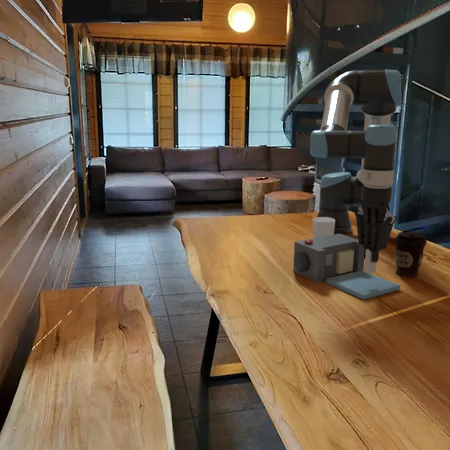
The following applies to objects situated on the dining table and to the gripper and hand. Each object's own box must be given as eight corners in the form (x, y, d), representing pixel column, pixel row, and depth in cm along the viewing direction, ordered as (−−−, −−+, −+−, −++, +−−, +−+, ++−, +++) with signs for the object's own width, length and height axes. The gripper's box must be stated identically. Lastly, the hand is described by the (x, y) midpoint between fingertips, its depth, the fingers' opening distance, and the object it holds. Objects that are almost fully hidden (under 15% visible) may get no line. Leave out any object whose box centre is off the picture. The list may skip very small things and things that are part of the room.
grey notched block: (337, 263, 149) (339, 231, 146) (363, 273, 140) (365, 239, 137) (289, 273, 140) (291, 239, 137) (313, 285, 130) (315, 249, 128)
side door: (360, 270, 137) (400, 285, 125) (360, 276, 138) (399, 292, 126) (326, 278, 131) (364, 295, 119) (325, 285, 131) (363, 302, 119)
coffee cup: (407, 283, 132) (411, 239, 129) (385, 274, 139) (389, 232, 136) (428, 278, 136) (433, 235, 133) (405, 269, 143) (410, 229, 140)
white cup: (309, 248, 165) (310, 221, 163) (313, 242, 172) (315, 216, 170) (331, 250, 162) (333, 223, 160) (335, 244, 169) (336, 218, 167)
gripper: (347, 183, 123) (342, 267, 129) (386, 190, 112) (378, 282, 118) (368, 181, 126) (362, 263, 132) (407, 188, 115) (399, 277, 121)
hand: (369, 272), depth 125 cm, fingers closed
